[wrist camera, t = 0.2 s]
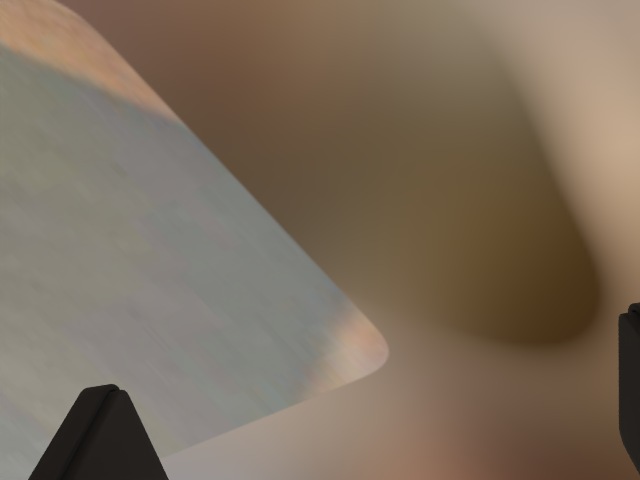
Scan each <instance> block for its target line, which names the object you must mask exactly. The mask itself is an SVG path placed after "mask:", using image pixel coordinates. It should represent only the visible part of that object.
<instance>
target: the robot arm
mask: <svg viewBox="0 0 640 480" xmlns="http://www.w3.org/2000/svg"><path fill="white" fill-rule="evenodd" d="M619 430H620V435H621V438H622V441H623V444H624V446H625V448H626V450H627V452H628V454H629V455H630V458H631V460H632V461H633V463H634V465H635V467H636V469H637V471H638V472H639V474H640V303H634V304H631V305H630V306H629V309H628V313H624V314H620V316H619ZM28 480H169V479H168V477H167V475H166V473H165V471H164V469H163V467H162V464H161V462H160V460H159V458H158V456H157V454H156V452H155V450H154V448H153V445H152V443H151V441H150V439H149V437H148V435H147V433H146V431H145V428H144V426H143V424H142V422H141V420H140V418H139V416H138V414H137V412H136V409H135V407H134V405H133V403H132V401H131V399H130V397H129V395H128V393H127V392H126V391H125V390H120V389H119V388H118V387H117V386H116V385H114V384H109V385H103V386H96V387H90V388H86V389H84V390H83V391H82V392H81V393H80V395H79V396H78V398H77V400H76V401H75V403H74V405H73V406H72V408H71V409H70V411H69V413H68V414H67V416H66V418H65V419H64V421H63V423H62V424H61V426H60V428H59V429H58V431H57V433H56V434H55V436H54V438H53V439H52V441H51V443H50V444H49V446H48V448H47V449H46V451H45V453H44V454H43V456H42V458H41V459H40V461H39V462H38V464H37V466H36V467H35V469H34V471H33V472H32V474H31V476H30V477H29V479H28Z"/></svg>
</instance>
